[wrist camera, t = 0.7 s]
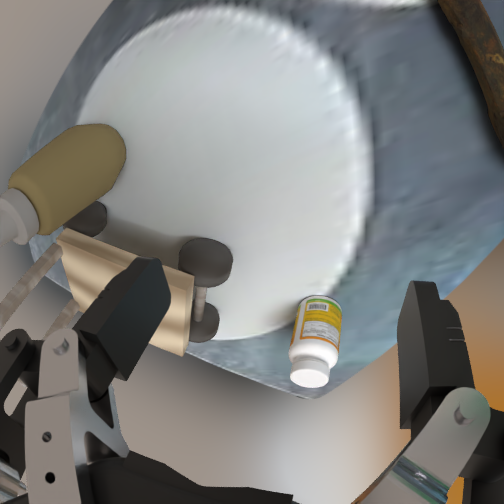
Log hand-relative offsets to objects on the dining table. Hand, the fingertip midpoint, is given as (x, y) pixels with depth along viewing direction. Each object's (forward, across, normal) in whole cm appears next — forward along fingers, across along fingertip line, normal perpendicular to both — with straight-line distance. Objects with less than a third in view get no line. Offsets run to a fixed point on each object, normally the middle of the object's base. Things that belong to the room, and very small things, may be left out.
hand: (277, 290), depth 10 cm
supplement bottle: (+20, -1, +21) cm, 29 cm away
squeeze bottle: (+19, +22, 0) cm, 29 cm away
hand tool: (+19, -14, -8) cm, 25 cm away
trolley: (+20, +21, +15) cm, 32 cm away
